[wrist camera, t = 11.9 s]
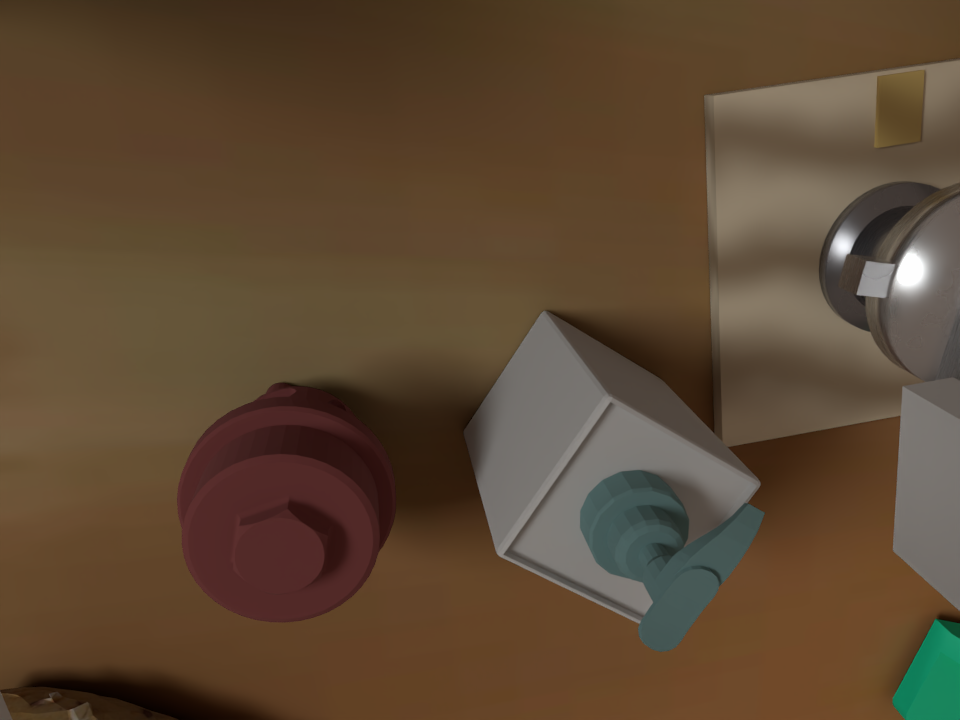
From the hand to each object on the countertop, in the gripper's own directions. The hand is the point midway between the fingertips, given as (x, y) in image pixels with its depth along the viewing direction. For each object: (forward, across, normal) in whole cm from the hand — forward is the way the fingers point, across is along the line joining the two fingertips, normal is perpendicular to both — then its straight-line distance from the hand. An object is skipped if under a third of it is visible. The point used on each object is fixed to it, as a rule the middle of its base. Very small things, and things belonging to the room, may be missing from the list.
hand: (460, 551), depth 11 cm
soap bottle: (+33, +8, -13) cm, 36 cm away
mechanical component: (+33, -7, -12) cm, 36 cm away
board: (+33, +27, -7) cm, 43 cm away
